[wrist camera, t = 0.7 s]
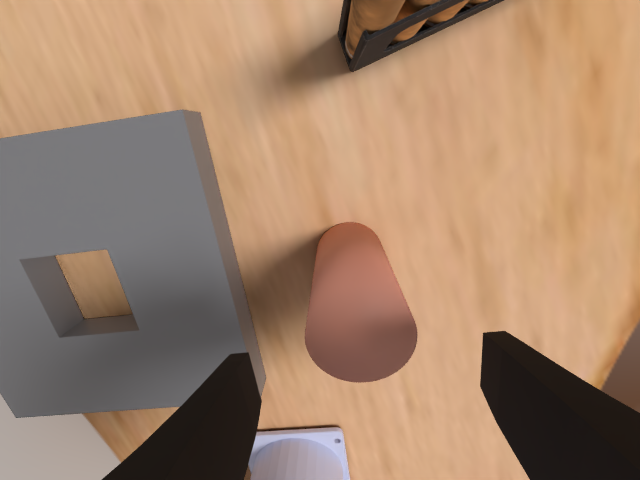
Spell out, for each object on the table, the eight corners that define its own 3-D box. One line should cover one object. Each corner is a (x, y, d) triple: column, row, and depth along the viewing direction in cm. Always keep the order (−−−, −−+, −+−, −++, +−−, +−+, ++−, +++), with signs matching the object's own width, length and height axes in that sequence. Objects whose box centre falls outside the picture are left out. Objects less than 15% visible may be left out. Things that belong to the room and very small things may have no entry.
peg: (384, 279, 19) (418, 378, 11) (321, 286, 19) (313, 386, 12) (380, 218, 17) (415, 283, 10) (312, 226, 18) (296, 295, 10)
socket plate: (266, 377, 22) (259, 401, 20) (41, 394, 23) (16, 417, 21) (200, 112, 16) (182, 109, 14) (-96, 158, 17) (-148, 161, 15)
